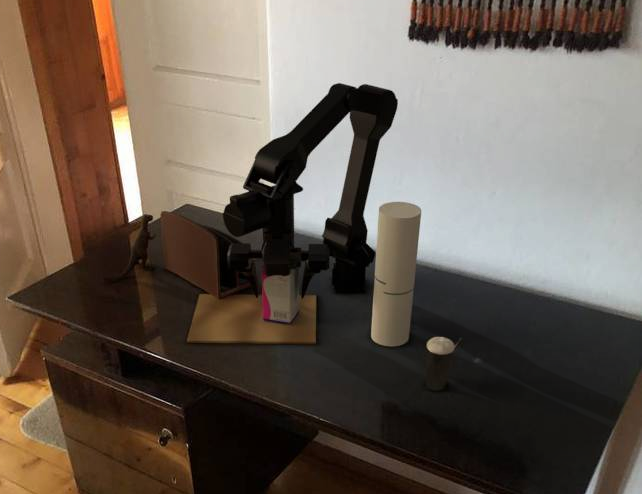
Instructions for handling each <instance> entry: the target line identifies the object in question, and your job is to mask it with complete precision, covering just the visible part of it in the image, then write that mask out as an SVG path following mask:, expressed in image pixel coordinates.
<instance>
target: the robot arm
mask: <svg viewBox="0 0 642 494" xmlns="http://www.w3.org/2000/svg"><path fill="white" fill-rule="evenodd" d="M398 104H399V100H398V98H397V96H396V94H395V92H394V91H393V90H391V89H388V88H384V87H379V86H375V85H372V84H368V83H363V84H360V85H359V86H358V87H356V86H353V85H349V84H345V83H341V82H337V83H333V84H332V85H331V86H330V88H329V90H328V93H327V94H325V95H324V97H322V99H321V100H320V101H319V102H318V103H317V104H316V105H315V106H314V107H313V108H312V109H311V110H310V111H309V112H308V113H307V114H306V115H305V116H304V117H303V119H301V120H300V121H299V122H298V123H297V125H295V126H294V127H293V128H292V130H290V132H288V133H286V134H285V135H282V136H278V137H276V138H273V139H272V140H270V141H269V142H268V143H266V144H265V145H263V146H262V147H261V148H259V150H258V151H257V152H256V154H255V156H254V161H253V163H252V165H251V167H250V169H249V172H248V175H246V176H247V177H246V179H245V181H244V183H243V185H242V189H243V190H246V191H245V192H243V193H239V194H233V195H230V196H229V203H228V204H225V206H224V208H223V212H222V220H223V223H224V226H225V228H226V230H227V231H228V233H229V234H230V235H231V236H232V237H234V238H240V237H243V236H246V235H248V234H251V233H253V232H256V231H259V230H262V243H261V249H252V244H251V243H250V242H249V243H248V242H247V243H246V242H242V243H232V244H231V245H230V246H229V250H228V255H227V265H228V268H229V269H236V270H237V272H238V273H243V274H244V275H245V276H246V277H247V279H248V281H249V283H250V285H251V287H250V288H251V289H252V292H253V295H255V296H256V298H258V296H259V295H260V294H259V291H260V290H259V281H258V275H257V274H258V273H257V268H256V262H262V266H263V268H264V274H265V275H266V276H272V275H281V276H288V275H290V273H291V269H296V267H299V268H302V262H304V266H303V273H302V282H301V290H300V291H301V293H300V295H301V298H304V296H305V295H306V293H307V290H308V287H309V284H310V282H311V280H312V278H313V277H314V276H315V275H316V274H321V272H322V271H328V270H330V264H331V263H330V262H331V261H330V259H331V258H330V257H332V258H333V259H334V262H332V264H331V286H332V287H333V291H334V293H336V294H338V293H339V294H340V293H343V294H345V293H347V294H348V293H349V294H354V293H356V294H365V293H366V272H367V268H368V267H370V264H372V263H373V262H374V261H375V260H374V259H375V258H376V250H374V249H373V248H372V247H371V246H370V245H369V244H368V243H367V240H368V232H369V231H368V227H367V223H366V220H365V216H364V215H365V214H364V213H365V210H366V204H367V200H368V196H369V191H370V186H371V182H372V177H373V172H374V168H375V164H376V159H377V154H378V150H379V146H380V141H381V139H382V138H383V137H384V136H385V135H386V134H387V133H388V131H389V130H390V129H391V127H392V125H393V122H394V120H395V117H396V114H397V113H396V112H397V110H398ZM348 115H349V121H350V125H351V128H352V133H353V137H352V142H351V143H352V144H351V148H350V153H349V156H348V157H349V158H348V163H347V167H346V172H345V178H344V182H343V187H342V190H341V191H342V192H341V197H340V202H339V207H338V210H337V211H336V212H335V214H334V215H332V216H331V217H327V218H326V219H325V221H324V229H323V232H322V235H321V238H323V239H322V240H323V241H322V243H308V247H307V248H308V250H302V247H298V246H297V247H295V195H296V194H299V193H301V192H303V191H304V187H303V186H301V185H300V184H299V183H297V181H298V179H299V178H300V176H301V175H302V174H303V173H304V171H305V169H306V168H307V165H308V158H309V157H310V155H311V153H312V152H313V151H314V150H315V149H316V148H317V147H318V146H319V145H320V144H321V143H322V142H323V141H324V140H325V139H326V138H327V137H328V136H329V134H330V133H331V132H332V131H333V130H335V128H336V127H337V126H338V125H339V124H340V123H341V122H342V121H343V120H344V119H345V118H346V117H347V116H348ZM261 180H263V181H265V182H268V183H270V184H273V185H268V184H266V183H264V182H260V181H261Z"/></svg>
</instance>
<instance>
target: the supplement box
mask: <svg viewBox="0 0 642 494" xmlns="http://www.w3.org/2000/svg"><path fill="white" fill-rule="evenodd" d="M260 270H261V295H262V301H263V321H269V322H275V323H282V324H288V325H290V324H291V323H292V322H293V320H294V318H295V317H296V316H297V314H298V312H299V295H300V267H296V269H291V273H290V275H288V276H281V275H272V276H266V275H265V274H264V268H263V265H262V266H261V269H260Z"/></svg>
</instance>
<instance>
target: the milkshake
mask: <svg viewBox="0 0 642 494" xmlns="http://www.w3.org/2000/svg"><path fill="white" fill-rule="evenodd" d="M461 340H462V337H459V339H458V340H457V342H456V344H455V343H454V342H453V341H452V340H451V339H449V338H447V337H445V336H434V337H432V338H430V339H429V340H427V342H426V362H425V363H426V365H425V385H426V388H427V389H429V390H430V391H436V392H439V391H442V390H444V389H445V387H446V386H447V380H448V376H449V371H450V368H451V363H452V359H453V355H454V352H455V348H456V347H457V345H458V344H459V342H460V341H461Z"/></svg>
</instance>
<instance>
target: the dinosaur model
mask: <svg viewBox="0 0 642 494" xmlns="http://www.w3.org/2000/svg"><path fill="white" fill-rule="evenodd" d="M140 220H141V222H140V223H141V227H140V229H139V232H138V235H137V236H136V238H135V240H134V241H133V243H132V246H131V248H130V251H131V252H130V259H129V261H128V264H127V267H126V268H125V270H123V272H122V273H121V274H119V275H118V276H116V277H113V278H111V277H110V278H109V277H101V279H102V280H103V281H108V282H115V281H119V280H121V279H123V278H125V277H126V276H127V275H128V274H129V273H130V272H131V271H132V270H133V269H134V268H135V267H136V266H138V268H140V269H141V270H142V269H144V270H145V271H146V270H148V271H150V270H153V268H154V267H153V265H152V264H151V265H150V264H149V263H148V264H146V262H147V260H148V258H149V256H148V254H149V253H148V247H149V241H153V240H154V239H155V237H156V236H157V233H154V234H153V236H151V232H150V231H149V230H148V228H149V227H148V225H149V223H150V222H152V221H154V216H153V214H147V213H144V214H142V216H141V219H140ZM140 260H141V263H140Z"/></svg>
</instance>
